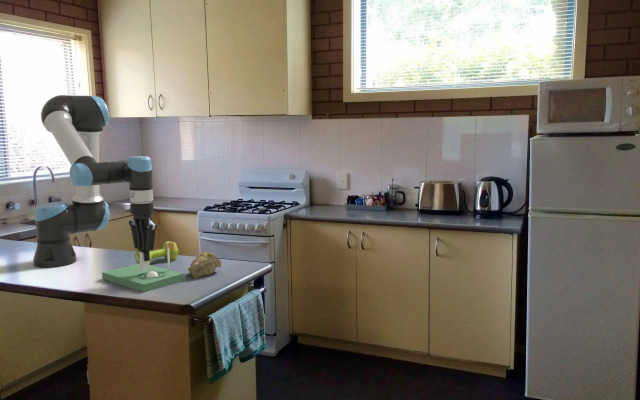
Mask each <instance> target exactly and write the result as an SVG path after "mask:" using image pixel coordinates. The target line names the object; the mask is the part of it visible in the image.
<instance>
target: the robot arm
mask: <svg viewBox="0 0 640 400" xmlns="http://www.w3.org/2000/svg"><path fill="white" fill-rule="evenodd" d="M40 118H41V119H40V120H41V122H42V125H43V127H44V128H45V130H46V131H47V132H48V133H51V134H52V135H53V138H54V139H55V141H56V142H57V144H58V146H59V148H60V149H61V150H62V152H63V155H65V157H66V159H67V161H68V162H69V164H70V165H71V166H70V168H69V179H70V181H71V183H72V185H74V186H75V189H76V191H75V193H76V195H75V196H73V197H72V201H71V203H72V204H69V203H68V202H67V201H64V200H61V201H54V202H52V201H51V202H48V203H43V204H41V205H39V206H37V207H36V208H35V210H34V212H35V213H34V221H35V230H36V231H35V233H36V243H37V244H36V248H35V252H34V255H33V258H32V259H33V266H35V267H39V268H55V267H56V268H57V267H62V266H68V265H71V264H74V263H76V262H77V253H76V251H75V249H74V247H73V245H72V241H71V235H72V234H73V235H74V234H78V233H79V234H80V233H88V232H95V231H99V230H104V229H105V228H106V226H107V225H108V223H109V220H110V215H111V214H110V207H109V204H108V203H107V201H104V197H103V196H102V195H101V193H100V185H115V184H125V183H127V184H128V190H129V202H131V203H130V204H129V208H130V211H129V212H130V214H131V215H133V216H132V220H129V221H128V225H129V227H130V231H131V236H132V242H133V247H134V249H135V250H137V249H138V251H139V259H140V270H142V271H144V270H148V269H150V265H151V264H150V265H149V260H150V258H149V257H150V255H149V251H150V252H151V251H154V250H155V239H156V230H157V228H158V224H157V223H154V222H153V218H152V214H154V211H155V210H154V209H155V208H154V202H153V201H154V191H153V190H154V189H153V166H152V158H151V157H150V156H145V155H137V156H129V157H128V159H127V160H125V159H123V160H122V159H121V160H118V161H102V162H100V136H101V134H103V132H104V127H107V126H108V125H109V121H110V113H109V109H108V106H107V104H106V102H105V100H104V99H103V98H102V97H100V96H97V95H96V96H95V95H65V94H61V95H55V96H54V97H51V98H49V99H48V100H47V101H46V102H45V104H44V105H43V106H42V109H41V112H40Z"/></svg>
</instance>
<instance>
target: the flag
mask: <svg viewBox="0 0 640 400" xmlns="http://www.w3.org/2000/svg"><path fill="white" fill-rule="evenodd" d="M166 242H167V258H168V260H167V269H168V271H170V270H171V265H170V264H171V260H170V257H169V248H170V249H174V243H175V242H174V243H172V242H173V241H170V242H169V241H168V240H167V241H166Z"/></svg>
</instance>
